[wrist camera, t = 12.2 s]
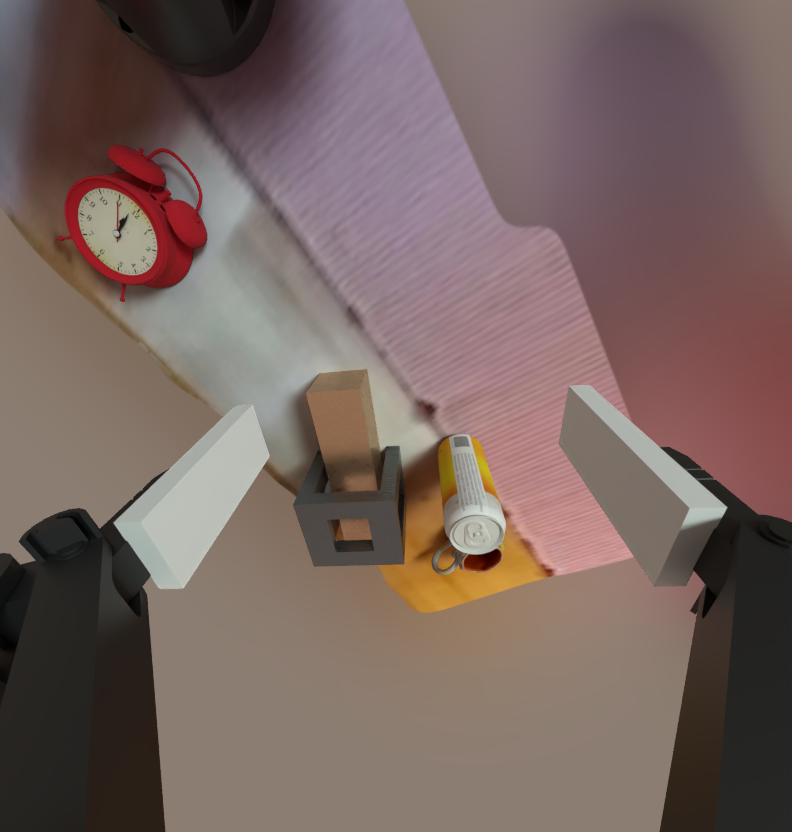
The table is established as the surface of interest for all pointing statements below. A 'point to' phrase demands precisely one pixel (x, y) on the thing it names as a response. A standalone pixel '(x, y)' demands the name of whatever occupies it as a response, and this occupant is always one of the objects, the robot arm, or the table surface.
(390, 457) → the collar block
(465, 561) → the mug
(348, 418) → the banded wooden beam
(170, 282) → the alarm clock
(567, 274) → the table surface
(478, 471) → the yellow can
